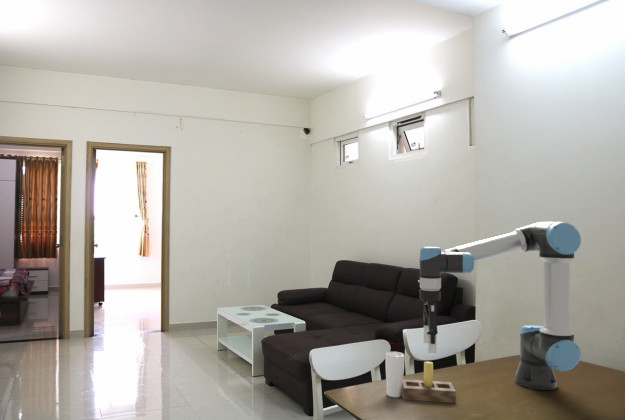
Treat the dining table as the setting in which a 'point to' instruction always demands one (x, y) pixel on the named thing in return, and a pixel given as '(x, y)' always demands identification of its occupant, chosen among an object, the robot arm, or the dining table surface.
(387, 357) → the drinking glass
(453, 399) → the hole block
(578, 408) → the dining table surface
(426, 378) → the peg
